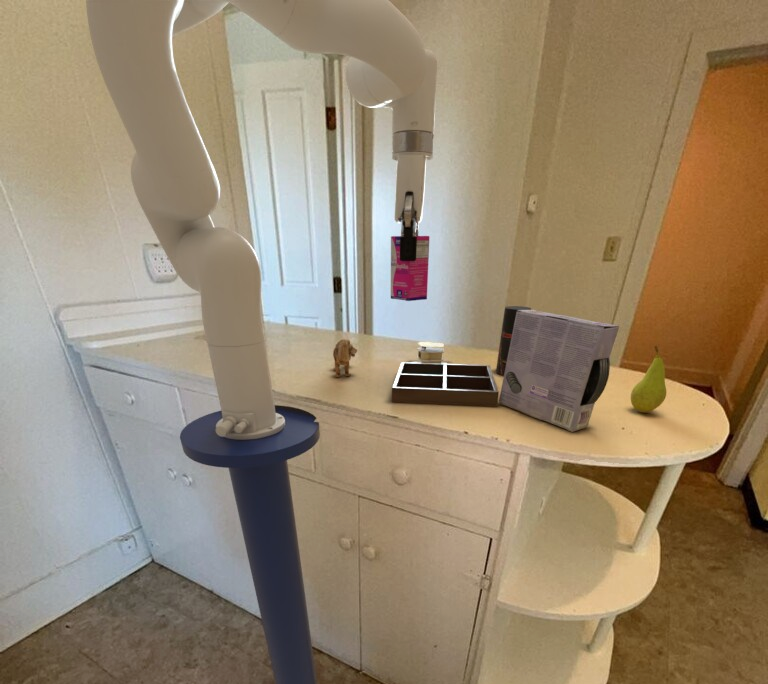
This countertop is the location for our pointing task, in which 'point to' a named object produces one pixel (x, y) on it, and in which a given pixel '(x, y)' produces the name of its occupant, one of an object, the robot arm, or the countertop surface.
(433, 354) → the stacked layers on plate
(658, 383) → the fruit
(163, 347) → the countertop surface
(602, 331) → the cake pan box
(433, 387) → the grid
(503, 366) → the deodorant
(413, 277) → the supplement box
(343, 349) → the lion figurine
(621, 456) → the countertop surface
